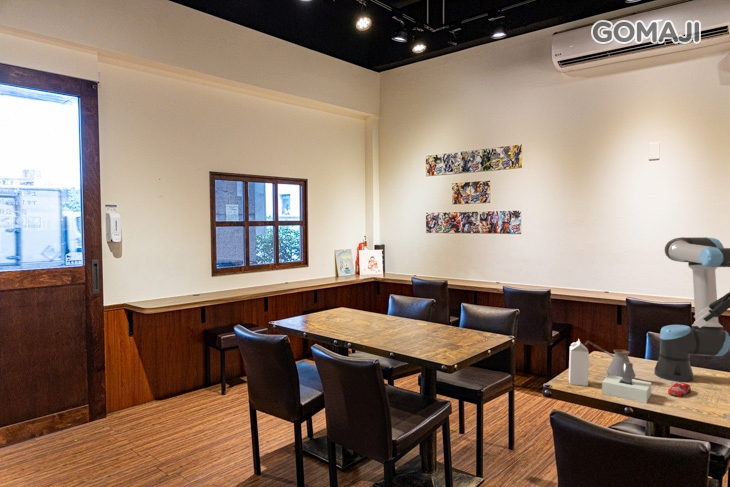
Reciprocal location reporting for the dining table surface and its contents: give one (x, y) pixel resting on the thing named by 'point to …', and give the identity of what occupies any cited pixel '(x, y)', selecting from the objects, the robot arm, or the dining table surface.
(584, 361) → the milk carton
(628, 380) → the peg
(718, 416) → the dining table surface
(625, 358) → the coffee pot
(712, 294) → the robot arm
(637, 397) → the hole block
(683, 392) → the race car
